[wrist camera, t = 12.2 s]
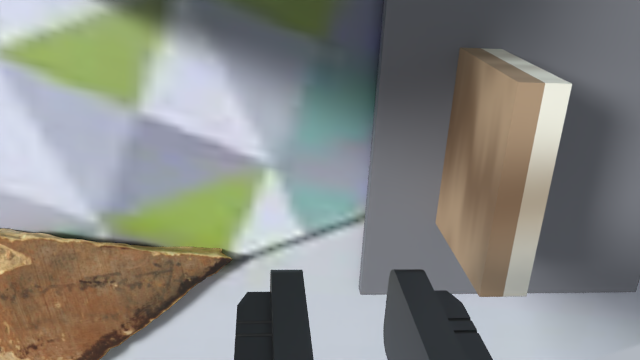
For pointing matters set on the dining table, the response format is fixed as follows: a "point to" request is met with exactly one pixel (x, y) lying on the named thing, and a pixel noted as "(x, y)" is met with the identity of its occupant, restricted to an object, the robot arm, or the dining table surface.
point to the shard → (88, 292)
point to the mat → (572, 157)
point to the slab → (499, 166)
